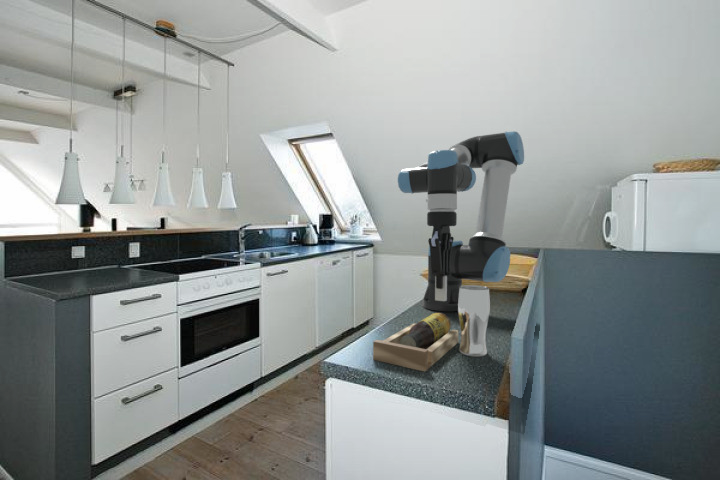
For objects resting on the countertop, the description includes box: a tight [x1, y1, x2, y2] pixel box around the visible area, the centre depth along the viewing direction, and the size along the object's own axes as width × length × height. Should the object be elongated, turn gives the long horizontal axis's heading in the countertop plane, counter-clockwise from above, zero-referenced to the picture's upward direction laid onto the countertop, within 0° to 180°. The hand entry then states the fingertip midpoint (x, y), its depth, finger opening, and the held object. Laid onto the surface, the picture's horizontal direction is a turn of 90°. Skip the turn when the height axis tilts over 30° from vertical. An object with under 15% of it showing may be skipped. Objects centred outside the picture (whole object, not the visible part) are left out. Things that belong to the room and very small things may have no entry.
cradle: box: [372, 323, 459, 372], centre depth 87 cm, size 22×12×4 cm, turn 148°
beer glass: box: [457, 284, 491, 358], centre depth 85 cm, size 7×7×15 cm
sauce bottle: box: [400, 312, 452, 349], centre depth 90 cm, size 7×6×20 cm
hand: (440, 300), depth 99 cm, fingers closed
